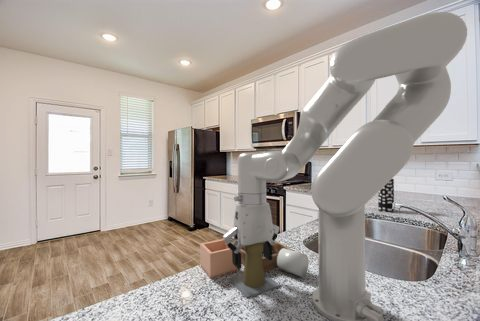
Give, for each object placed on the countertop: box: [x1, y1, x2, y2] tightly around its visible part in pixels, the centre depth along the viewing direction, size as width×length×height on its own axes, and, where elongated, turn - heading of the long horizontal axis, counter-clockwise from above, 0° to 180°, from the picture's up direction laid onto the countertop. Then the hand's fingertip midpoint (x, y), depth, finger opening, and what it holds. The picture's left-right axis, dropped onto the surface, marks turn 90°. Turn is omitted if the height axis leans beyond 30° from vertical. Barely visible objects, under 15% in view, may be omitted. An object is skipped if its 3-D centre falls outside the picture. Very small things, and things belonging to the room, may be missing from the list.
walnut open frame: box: [239, 240, 295, 273], centre depth 73 cm, size 12×15×4 cm
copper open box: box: [199, 238, 239, 280], centre depth 68 cm, size 9×9×7 cm
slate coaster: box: [228, 272, 281, 299], centre depth 60 cm, size 10×10×1 cm
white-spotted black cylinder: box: [377, 178, 395, 213], centre depth 141 cm, size 8×8×20 cm
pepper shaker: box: [243, 243, 265, 288], centre depth 60 cm, size 6×6×11 cm
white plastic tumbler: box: [277, 248, 309, 278], centre depth 66 cm, size 7×6×6 cm
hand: (253, 262), depth 60 cm, fingers open, 9 cm apart
